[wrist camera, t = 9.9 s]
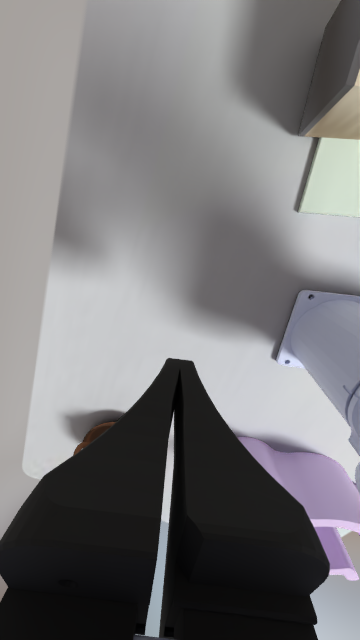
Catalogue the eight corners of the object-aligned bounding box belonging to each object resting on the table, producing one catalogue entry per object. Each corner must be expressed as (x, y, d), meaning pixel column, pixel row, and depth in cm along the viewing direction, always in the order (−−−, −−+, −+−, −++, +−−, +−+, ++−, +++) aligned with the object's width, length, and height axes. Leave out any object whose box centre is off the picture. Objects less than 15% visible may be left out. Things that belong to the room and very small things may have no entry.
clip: (199, 469, 30) (198, 532, 24) (244, 419, 25) (258, 480, 19) (312, 516, 31) (339, 586, 25) (375, 476, 26) (429, 552, 20)
